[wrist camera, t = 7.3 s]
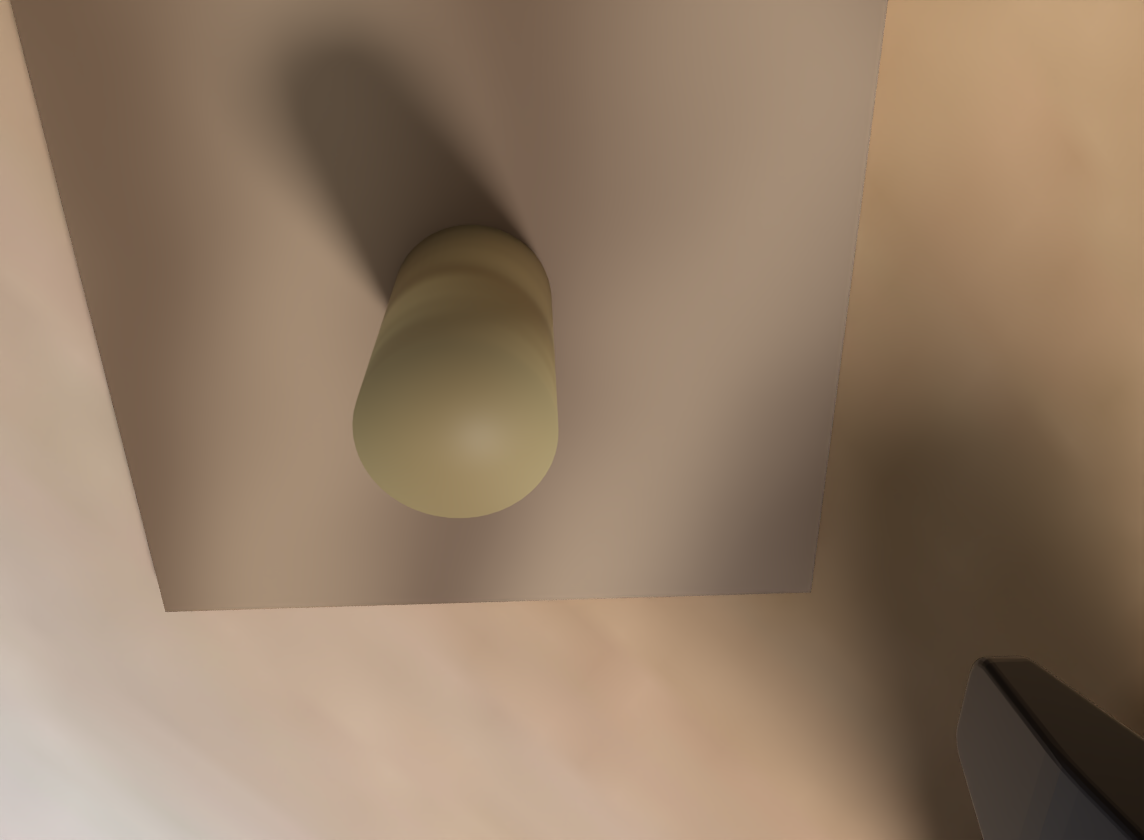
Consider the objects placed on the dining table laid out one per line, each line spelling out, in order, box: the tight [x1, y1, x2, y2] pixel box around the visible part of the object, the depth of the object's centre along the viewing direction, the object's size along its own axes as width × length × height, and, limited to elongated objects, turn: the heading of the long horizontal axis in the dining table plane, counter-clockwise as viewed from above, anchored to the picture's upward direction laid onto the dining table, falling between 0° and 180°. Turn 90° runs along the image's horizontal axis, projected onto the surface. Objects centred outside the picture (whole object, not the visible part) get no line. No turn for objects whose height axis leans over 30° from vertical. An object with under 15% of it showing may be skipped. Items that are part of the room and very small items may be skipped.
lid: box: [10, 0, 888, 612], centre depth 15 cm, size 13×13×6 cm
